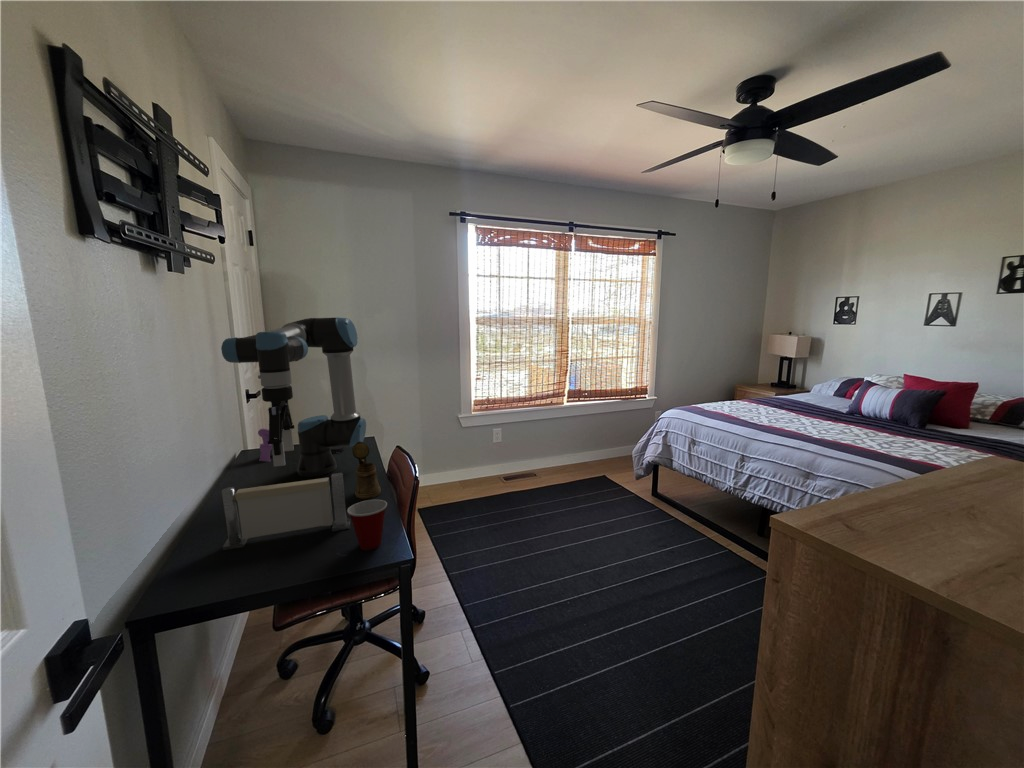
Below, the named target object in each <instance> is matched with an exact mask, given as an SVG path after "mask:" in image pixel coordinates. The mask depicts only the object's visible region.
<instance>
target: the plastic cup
mask: <svg viewBox="0 0 1024 768" xmlns="http://www.w3.org/2000/svg"><path fill="white" fill-rule="evenodd" d="M387 506H388V502H387V501H386V500H383V499H367V500H363V501H360V502H357V503H354V504H352V505H351V506H349V507H348V508H347V510H346V513H347V514H348V515H349V518H350V521H351V522H352V525H353V526H352V527H353V528H354V532H355V536H356V538H357V541H358V546H359V547H360V549H361V550H363V551H372V550H374V549H377V548H378V547H380V545H381V543H382V536H383V532H384V531H383V529H384V522H385V521H384V519H385V514H386V509H387Z"/></svg>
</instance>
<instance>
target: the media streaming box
mask: <svg viewBox="0 0 1024 768" xmlns="http://www.w3.org/2000/svg"><path fill="white" fill-rule="evenodd" d="M330 448H331V453H334V454H337V453H336V452H340V451H343V450H344V451H345V446H344V447H330ZM344 451H343V452H344ZM340 453H341V452H340Z"/></svg>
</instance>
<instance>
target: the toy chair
mask: <svg viewBox="0 0 1024 768" xmlns="http://www.w3.org/2000/svg"><path fill="white" fill-rule="evenodd" d="M257 434H258V436H259V437H260V438H262V439H261V440H262V443H260V444H259V451H260V457H259V460H258V461H259V462H268V463H271V462H272V460H271V455H270V454H271V452H272V445H271V444H269V445H268V441H269V428H268V429H267V428H260V429H258V431H257Z"/></svg>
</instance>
